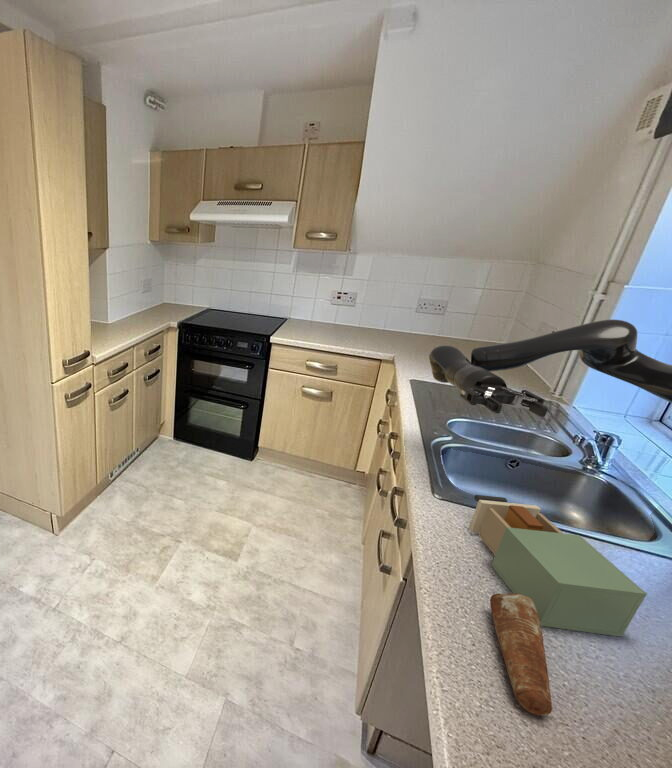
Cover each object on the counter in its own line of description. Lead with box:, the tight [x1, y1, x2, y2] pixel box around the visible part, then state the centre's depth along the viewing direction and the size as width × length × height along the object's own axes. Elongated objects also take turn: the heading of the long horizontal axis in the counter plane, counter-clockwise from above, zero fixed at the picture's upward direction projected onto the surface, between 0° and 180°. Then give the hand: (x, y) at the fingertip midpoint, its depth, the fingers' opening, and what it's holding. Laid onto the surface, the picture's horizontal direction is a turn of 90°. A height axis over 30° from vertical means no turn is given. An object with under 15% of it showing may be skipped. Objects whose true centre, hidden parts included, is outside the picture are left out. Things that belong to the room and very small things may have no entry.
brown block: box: [504, 505, 544, 531], centre depth 84 cm, size 3×6×8 cm, turn 170°
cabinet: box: [491, 527, 648, 638], centre depth 74 cm, size 14×13×10 cm
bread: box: [489, 592, 553, 716], centre depth 64 cm, size 6×19×6 cm, turn 147°
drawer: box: [468, 494, 563, 556], centre depth 87 cm, size 18×11×8 cm, turn 171°
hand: (521, 410), depth 86 cm, fingers open, 8 cm apart
